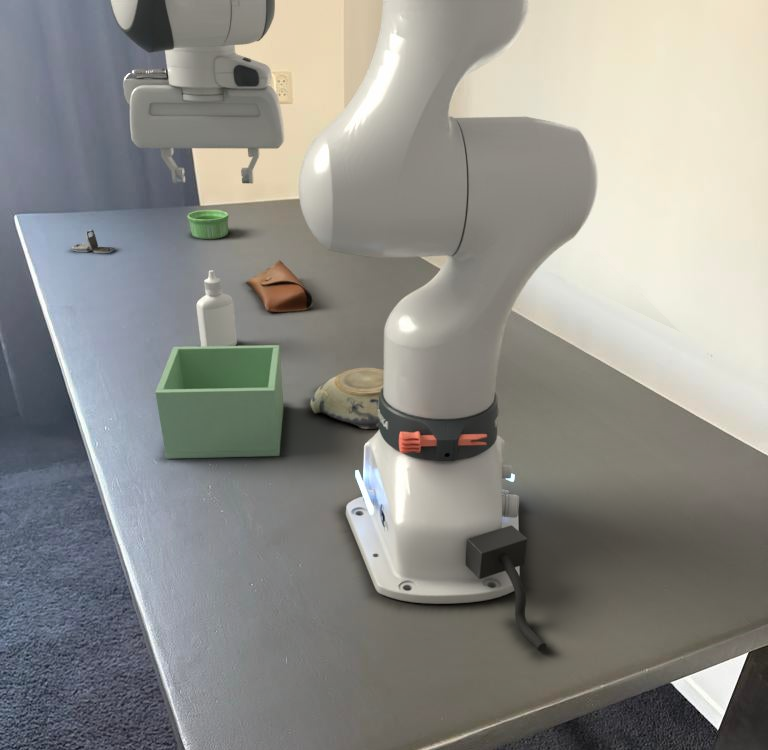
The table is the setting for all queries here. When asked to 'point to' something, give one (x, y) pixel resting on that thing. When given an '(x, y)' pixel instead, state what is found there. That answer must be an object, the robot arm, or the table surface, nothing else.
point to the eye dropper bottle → (216, 315)
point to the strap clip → (91, 245)
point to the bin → (221, 402)
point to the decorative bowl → (351, 397)
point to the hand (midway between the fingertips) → (213, 182)
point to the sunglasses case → (280, 290)
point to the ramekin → (208, 224)
